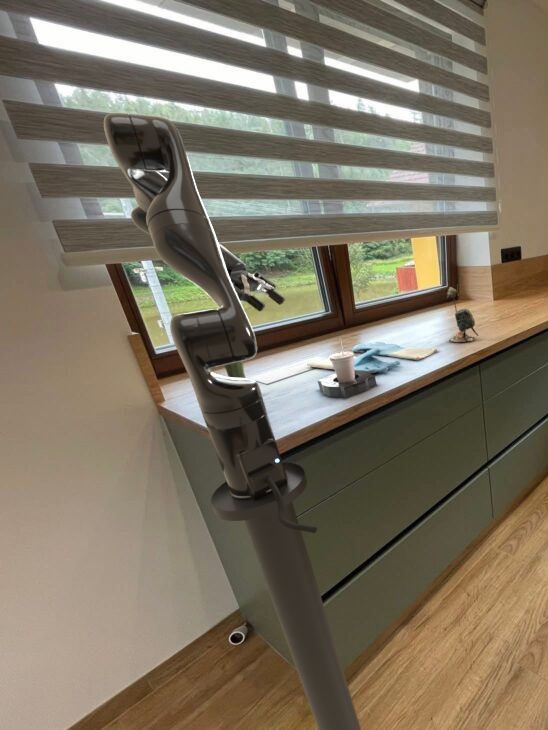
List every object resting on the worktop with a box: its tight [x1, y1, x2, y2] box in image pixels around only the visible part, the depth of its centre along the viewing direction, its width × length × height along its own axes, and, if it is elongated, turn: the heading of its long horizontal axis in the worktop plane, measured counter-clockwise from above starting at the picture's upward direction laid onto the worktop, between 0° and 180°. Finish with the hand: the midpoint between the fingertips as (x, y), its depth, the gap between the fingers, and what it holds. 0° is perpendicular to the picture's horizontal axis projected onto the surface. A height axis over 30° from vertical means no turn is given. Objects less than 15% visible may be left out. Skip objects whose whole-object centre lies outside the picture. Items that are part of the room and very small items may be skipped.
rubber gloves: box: [307, 341, 438, 374], centre depth 141 cm, size 27×33×6 cm
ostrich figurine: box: [446, 286, 480, 343], centre depth 154 cm, size 8×11×20 cm
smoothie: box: [328, 338, 355, 383], centre depth 116 cm, size 6×6×14 cm
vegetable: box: [223, 361, 247, 378], centre depth 108 cm, size 4×4×20 cm
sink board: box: [317, 370, 378, 399], centre depth 118 cm, size 13×13×3 cm
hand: (273, 305), depth 110 cm, fingers open, 8 cm apart
